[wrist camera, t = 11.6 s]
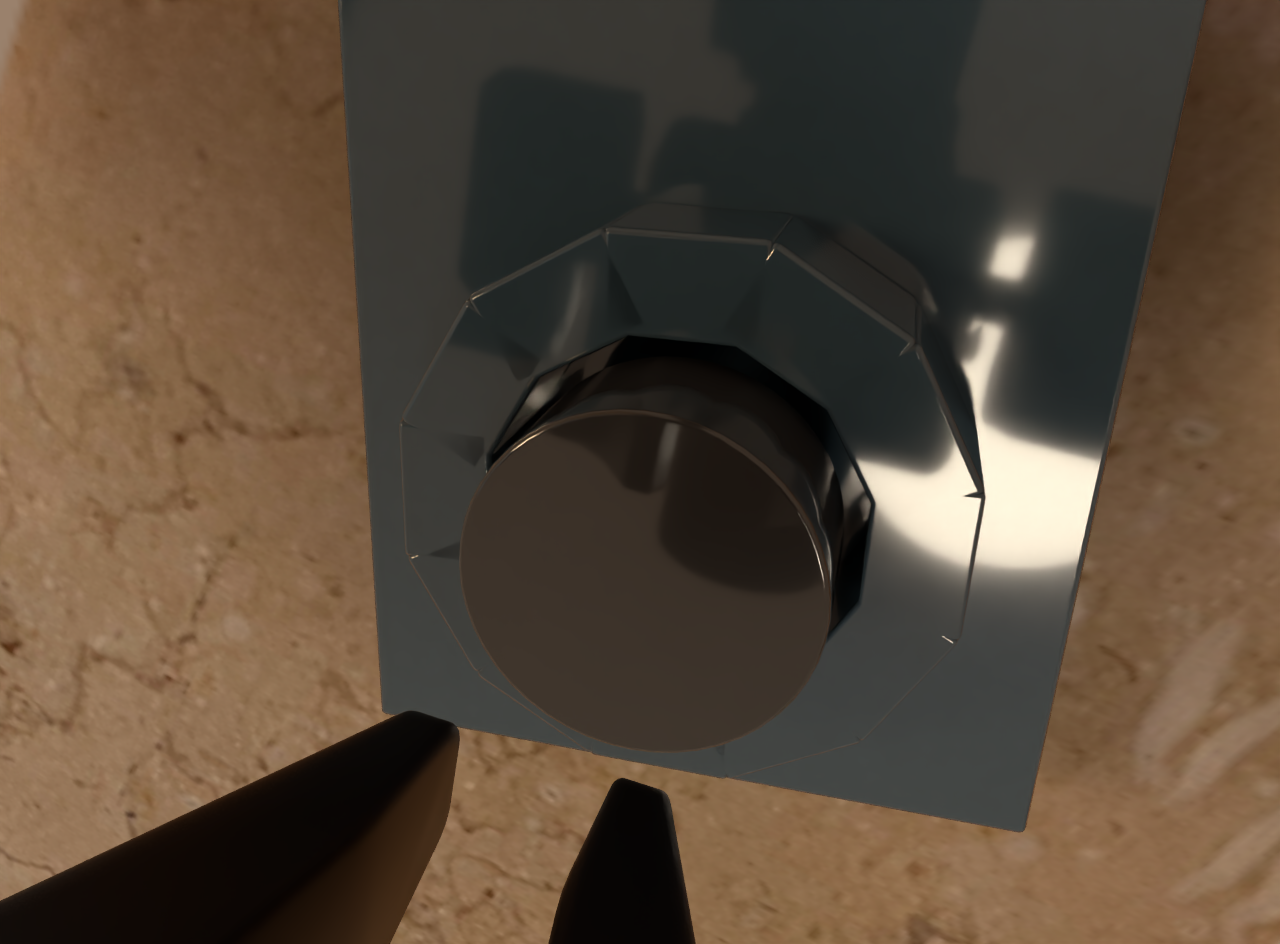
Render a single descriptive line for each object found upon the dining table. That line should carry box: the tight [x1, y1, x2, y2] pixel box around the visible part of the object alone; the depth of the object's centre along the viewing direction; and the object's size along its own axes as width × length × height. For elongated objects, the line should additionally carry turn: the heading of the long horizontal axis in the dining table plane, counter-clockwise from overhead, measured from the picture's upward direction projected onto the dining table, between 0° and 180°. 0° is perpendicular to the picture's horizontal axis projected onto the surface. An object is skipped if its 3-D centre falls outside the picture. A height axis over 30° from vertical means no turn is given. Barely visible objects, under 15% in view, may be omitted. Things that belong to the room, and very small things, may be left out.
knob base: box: [338, 0, 1208, 832], centre depth 14 cm, size 12×10×4 cm
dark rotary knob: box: [459, 356, 845, 753], centre depth 12 cm, size 4×4×2 cm
